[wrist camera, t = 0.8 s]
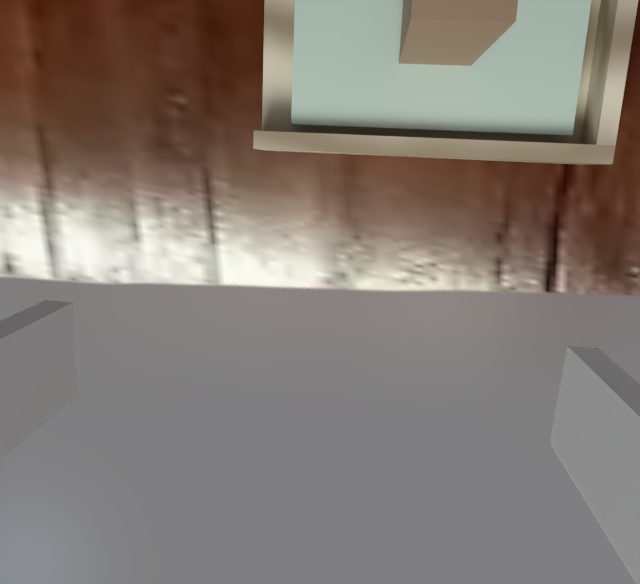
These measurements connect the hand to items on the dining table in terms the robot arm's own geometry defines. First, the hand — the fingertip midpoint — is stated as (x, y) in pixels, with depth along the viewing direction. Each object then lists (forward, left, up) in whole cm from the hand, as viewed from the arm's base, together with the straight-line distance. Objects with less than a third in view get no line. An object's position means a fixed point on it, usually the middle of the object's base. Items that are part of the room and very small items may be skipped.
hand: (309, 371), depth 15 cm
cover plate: (-13, +5, -21) cm, 25 cm away
